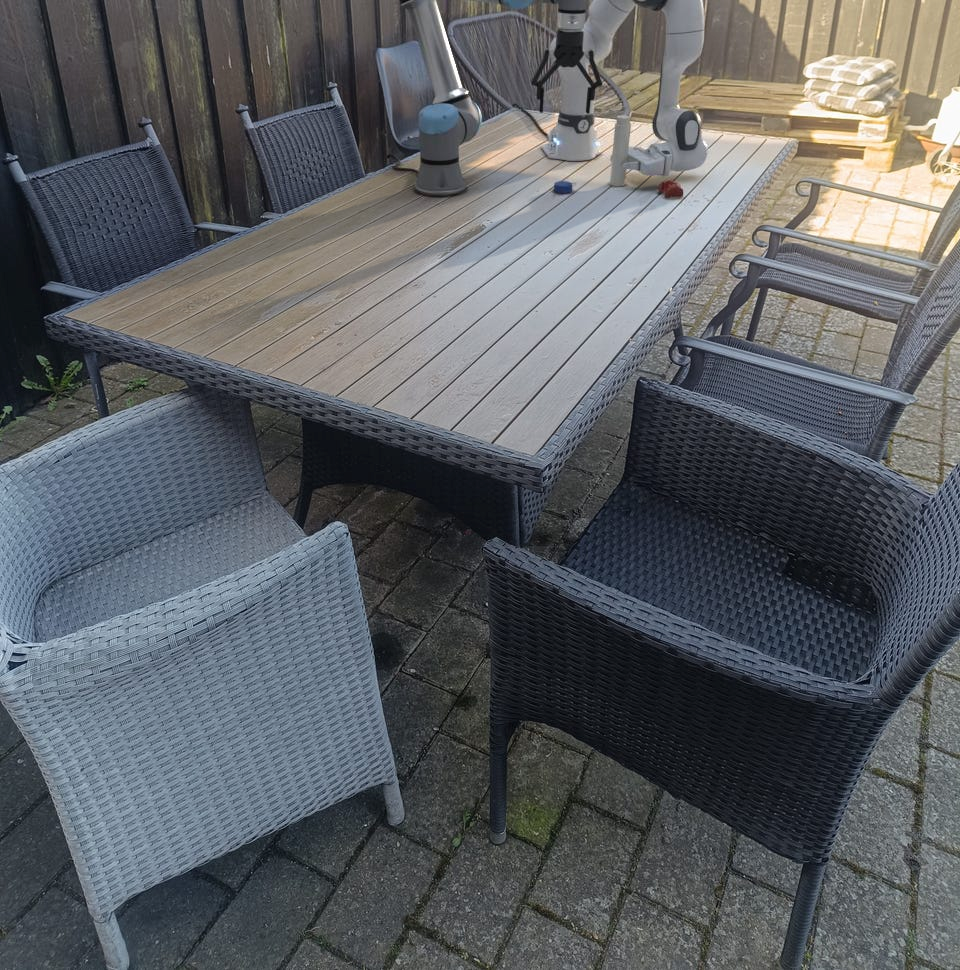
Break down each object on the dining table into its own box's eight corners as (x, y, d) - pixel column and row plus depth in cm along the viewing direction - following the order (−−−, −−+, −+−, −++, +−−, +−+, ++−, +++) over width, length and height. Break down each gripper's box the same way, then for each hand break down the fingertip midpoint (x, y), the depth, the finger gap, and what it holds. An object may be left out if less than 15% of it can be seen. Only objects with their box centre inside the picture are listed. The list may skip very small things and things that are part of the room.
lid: (556, 194, 255) (556, 186, 254) (551, 188, 259) (552, 181, 258) (574, 193, 256) (574, 185, 254) (569, 187, 260) (569, 180, 259)
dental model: (674, 175, 255) (686, 183, 249) (673, 189, 258) (684, 197, 251) (657, 177, 254) (668, 185, 248) (656, 192, 257) (667, 200, 250)
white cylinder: (625, 182, 265) (631, 115, 253) (624, 186, 261) (631, 118, 249) (610, 181, 265) (616, 114, 254) (609, 186, 262) (615, 118, 250)
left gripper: (526, 31, 229) (522, 114, 241) (617, 32, 230) (608, 115, 242) (524, 26, 235) (520, 108, 247) (613, 28, 236) (604, 109, 248)
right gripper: (643, 140, 269) (603, 143, 265) (674, 156, 253) (632, 160, 249) (641, 160, 272) (601, 164, 269) (671, 177, 257) (630, 181, 253)
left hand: (564, 112), depth 245 cm, fingers open, 13 cm apart
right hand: (616, 162), depth 259 cm, fingers open, 7 cm apart
